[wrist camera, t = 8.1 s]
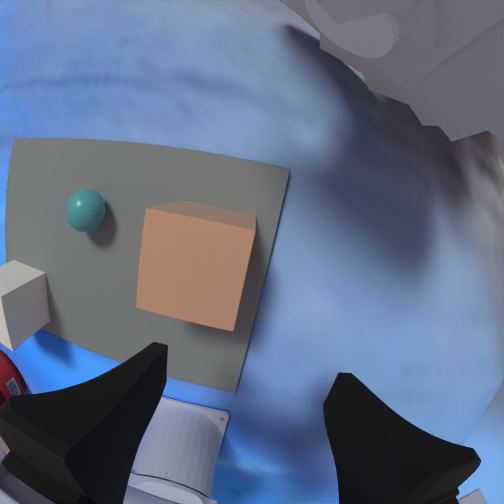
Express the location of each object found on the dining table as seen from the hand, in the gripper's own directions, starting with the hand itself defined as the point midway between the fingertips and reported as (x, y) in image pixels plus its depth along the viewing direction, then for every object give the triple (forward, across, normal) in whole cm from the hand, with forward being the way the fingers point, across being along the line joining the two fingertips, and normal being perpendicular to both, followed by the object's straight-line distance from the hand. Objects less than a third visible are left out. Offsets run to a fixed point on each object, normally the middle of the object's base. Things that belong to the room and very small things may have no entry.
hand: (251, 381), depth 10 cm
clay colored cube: (+9, +4, -3) cm, 10 cm away
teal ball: (+7, +12, -4) cm, 15 cm away
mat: (+9, +12, 0) cm, 15 cm away
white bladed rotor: (+10, -7, -26) cm, 28 cm away
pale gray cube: (+9, +21, +5) cm, 23 cm away
